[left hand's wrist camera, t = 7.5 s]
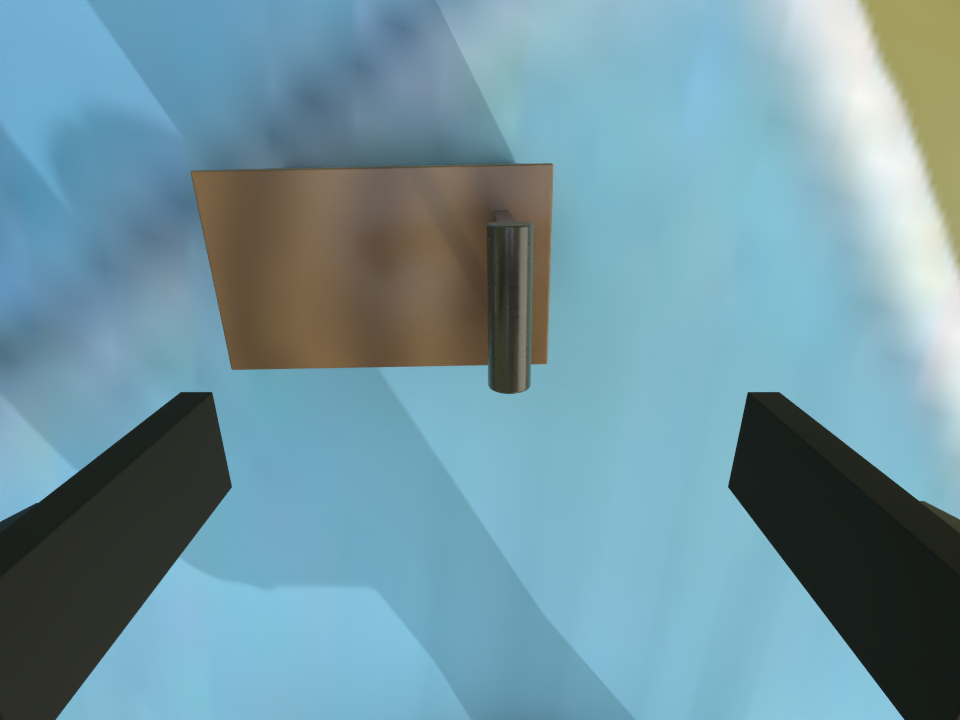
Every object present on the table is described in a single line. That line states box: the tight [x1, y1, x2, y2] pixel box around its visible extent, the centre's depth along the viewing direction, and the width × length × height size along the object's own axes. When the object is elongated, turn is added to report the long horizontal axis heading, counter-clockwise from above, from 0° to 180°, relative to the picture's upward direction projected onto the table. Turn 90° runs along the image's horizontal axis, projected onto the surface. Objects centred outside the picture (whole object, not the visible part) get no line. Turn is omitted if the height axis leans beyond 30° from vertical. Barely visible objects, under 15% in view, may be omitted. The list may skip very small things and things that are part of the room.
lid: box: [191, 163, 553, 394], centre depth 21 cm, size 16×9×8 cm, turn 91°
